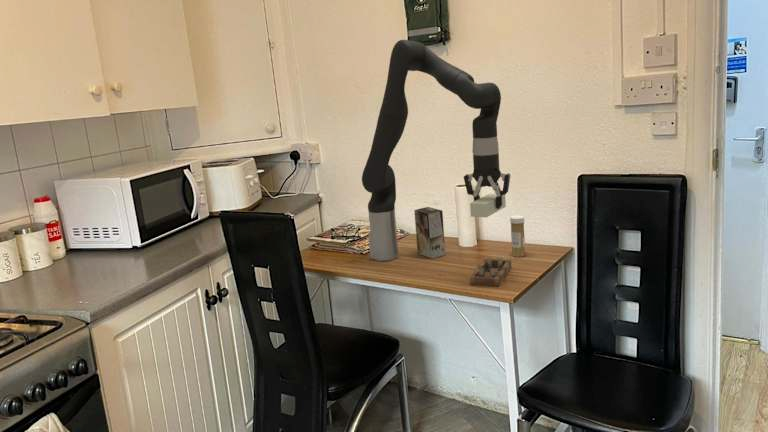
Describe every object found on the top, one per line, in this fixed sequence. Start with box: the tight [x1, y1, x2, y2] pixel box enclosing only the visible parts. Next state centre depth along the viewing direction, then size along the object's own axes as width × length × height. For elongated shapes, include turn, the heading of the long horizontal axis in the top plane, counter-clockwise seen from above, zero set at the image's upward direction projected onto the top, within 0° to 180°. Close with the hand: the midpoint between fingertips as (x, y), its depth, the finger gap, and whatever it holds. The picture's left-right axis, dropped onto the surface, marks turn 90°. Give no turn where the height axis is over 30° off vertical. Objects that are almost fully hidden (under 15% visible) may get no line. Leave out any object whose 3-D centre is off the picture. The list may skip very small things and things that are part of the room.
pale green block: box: [469, 192, 507, 219], centre depth 186 cm, size 14×5×4 cm, turn 146°
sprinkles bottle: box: [509, 214, 526, 258], centre depth 207 cm, size 5×5×13 cm
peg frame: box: [469, 257, 512, 288], centre depth 191 cm, size 18×9×4 cm, turn 157°
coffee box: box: [414, 206, 446, 259], centre depth 216 cm, size 9×6×16 cm
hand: (488, 208), depth 186 cm, fingers closed on pale green block, 5 cm apart
